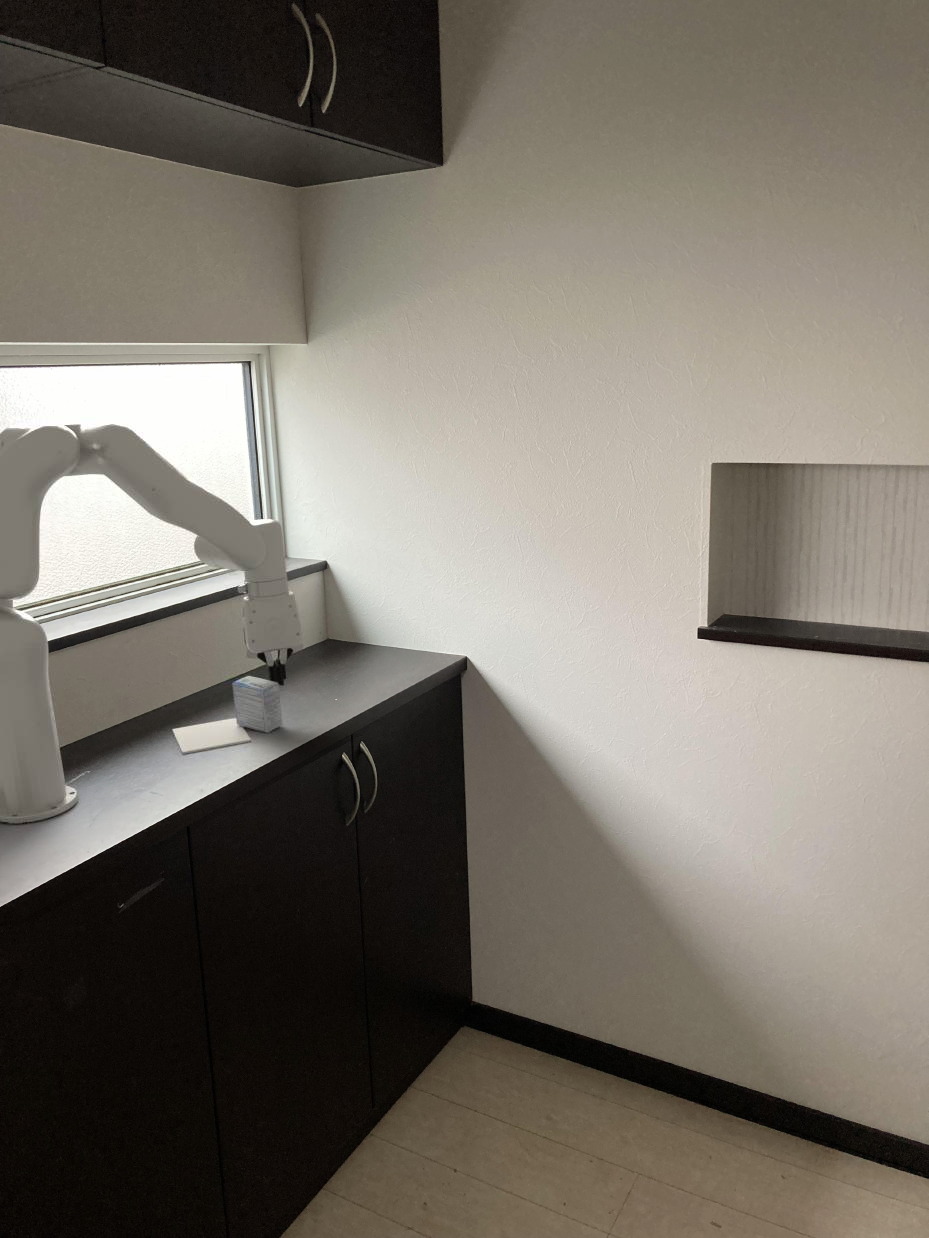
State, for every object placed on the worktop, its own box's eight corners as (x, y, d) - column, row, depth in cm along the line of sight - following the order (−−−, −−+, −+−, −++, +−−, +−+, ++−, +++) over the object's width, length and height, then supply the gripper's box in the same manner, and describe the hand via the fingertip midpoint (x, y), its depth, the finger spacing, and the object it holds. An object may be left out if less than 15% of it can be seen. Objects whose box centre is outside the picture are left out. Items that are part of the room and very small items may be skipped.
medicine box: (283, 725, 190) (279, 682, 187) (266, 734, 186) (262, 689, 184) (253, 717, 194) (249, 674, 192) (235, 725, 191) (231, 681, 188)
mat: (182, 754, 179) (182, 752, 179) (172, 731, 191) (172, 729, 191) (251, 741, 183) (250, 739, 183) (236, 719, 196) (236, 717, 196)
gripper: (229, 597, 180) (241, 696, 184) (312, 585, 185) (322, 682, 189) (222, 590, 187) (234, 685, 191) (302, 579, 192) (312, 672, 196)
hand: (278, 683), depth 190 cm, fingers closed
